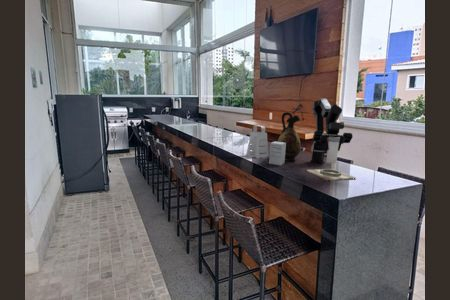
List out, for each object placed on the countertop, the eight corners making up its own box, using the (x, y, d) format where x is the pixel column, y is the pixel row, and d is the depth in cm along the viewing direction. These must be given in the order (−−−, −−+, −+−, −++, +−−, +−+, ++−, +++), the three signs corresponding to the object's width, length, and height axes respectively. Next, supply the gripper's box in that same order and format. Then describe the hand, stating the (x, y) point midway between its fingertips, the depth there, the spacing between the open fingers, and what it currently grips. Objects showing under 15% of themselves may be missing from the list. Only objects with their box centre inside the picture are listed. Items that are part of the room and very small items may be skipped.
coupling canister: (328, 160, 144) (331, 136, 142) (338, 162, 141) (341, 137, 138) (324, 161, 141) (327, 136, 138) (334, 163, 137) (337, 138, 135)
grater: (257, 158, 175) (259, 127, 171) (246, 155, 183) (248, 125, 179) (268, 156, 182) (270, 126, 178) (257, 153, 189) (259, 124, 186)
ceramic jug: (302, 158, 180) (307, 112, 174) (295, 162, 167) (300, 113, 161) (277, 154, 188) (281, 111, 183) (269, 158, 175) (273, 111, 169)
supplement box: (273, 161, 167) (274, 141, 165) (284, 163, 164) (286, 142, 161) (268, 163, 161) (270, 142, 159) (280, 165, 157) (282, 144, 155)
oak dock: (333, 170, 152) (333, 166, 152) (355, 179, 137) (356, 175, 136) (306, 171, 148) (307, 167, 147) (326, 180, 132) (327, 176, 131)
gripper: (316, 115, 141) (317, 139, 133) (354, 117, 139) (358, 142, 130) (312, 128, 151) (313, 152, 142) (347, 130, 148) (351, 154, 139)
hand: (333, 150), depth 138 cm, fingers closed on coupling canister, 5 cm apart
